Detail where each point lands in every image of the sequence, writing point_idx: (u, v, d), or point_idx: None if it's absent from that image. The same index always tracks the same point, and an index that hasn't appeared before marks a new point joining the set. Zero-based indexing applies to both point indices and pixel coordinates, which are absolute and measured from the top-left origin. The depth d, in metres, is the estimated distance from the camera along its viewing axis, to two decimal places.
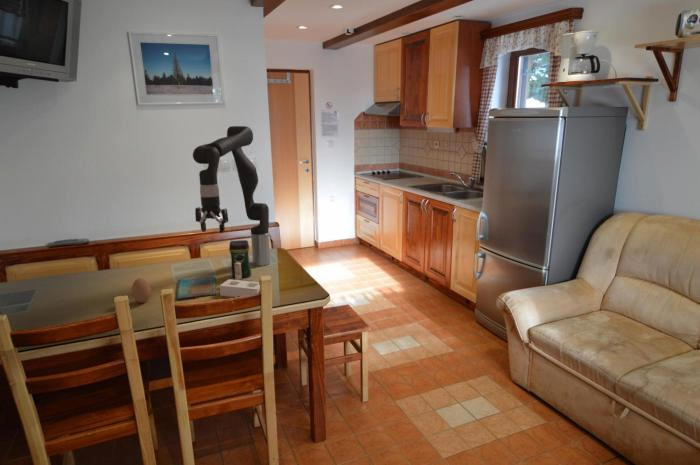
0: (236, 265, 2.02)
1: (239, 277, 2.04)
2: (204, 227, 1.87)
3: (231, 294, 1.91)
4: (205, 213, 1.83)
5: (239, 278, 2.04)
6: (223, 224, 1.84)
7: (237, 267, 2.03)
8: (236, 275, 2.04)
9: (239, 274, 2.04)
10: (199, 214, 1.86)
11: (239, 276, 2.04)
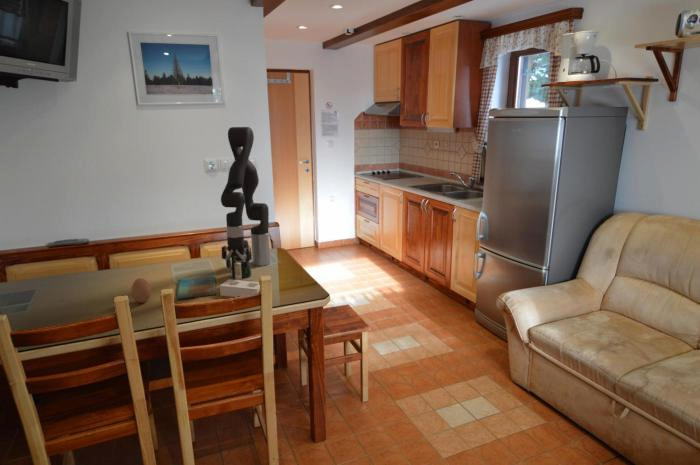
0: (236, 265, 2.02)
1: (239, 277, 2.04)
2: (229, 264, 2.04)
3: (231, 294, 1.91)
4: (231, 251, 2.01)
5: (239, 278, 2.04)
6: (247, 261, 2.02)
7: (237, 267, 2.03)
8: (236, 275, 2.04)
9: (239, 274, 2.04)
10: (225, 252, 2.04)
11: (239, 276, 2.04)
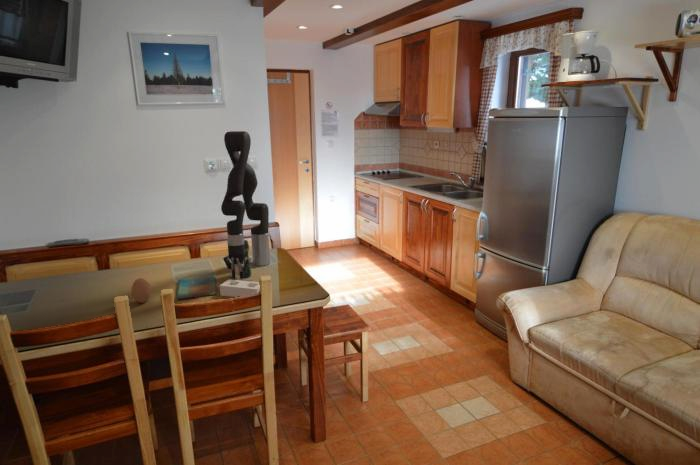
0: (236, 265, 2.02)
1: (239, 277, 2.04)
2: None
3: (231, 294, 1.91)
4: (232, 259, 2.02)
5: (239, 278, 2.04)
6: (243, 271, 2.04)
7: (237, 267, 2.03)
8: (236, 275, 2.04)
9: (239, 274, 2.04)
10: (228, 262, 2.05)
11: (239, 276, 2.04)
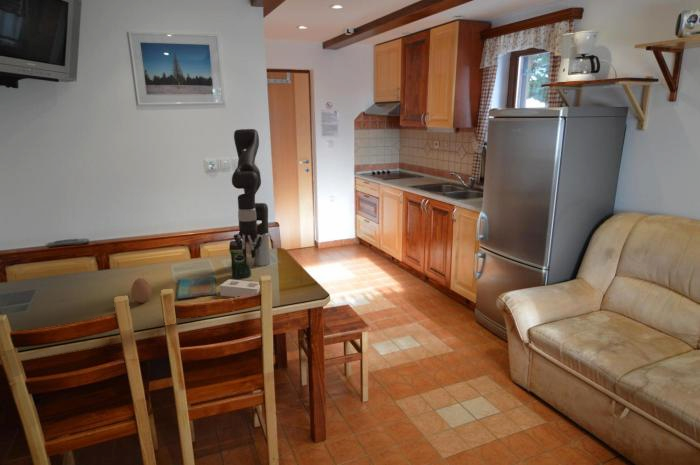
0: (247, 243, 1.85)
1: (251, 256, 1.87)
2: None
3: (231, 294, 1.91)
4: (243, 237, 1.85)
5: (251, 257, 1.87)
6: (255, 249, 1.87)
7: (249, 246, 1.86)
8: (247, 254, 1.87)
9: (251, 253, 1.87)
10: (239, 240, 1.88)
11: (251, 255, 1.87)
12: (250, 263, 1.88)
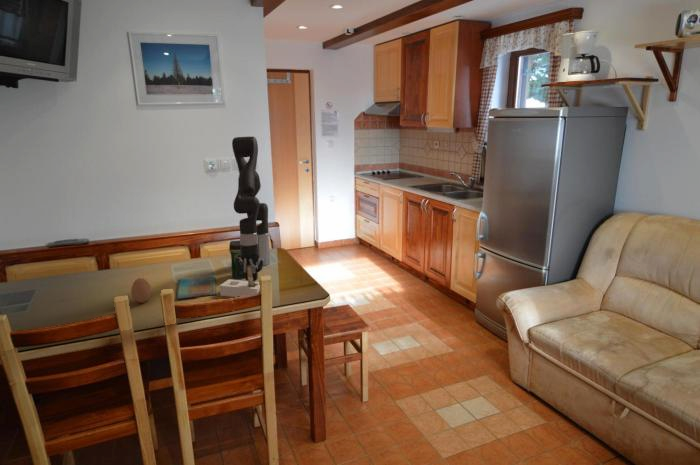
0: (249, 267, 1.88)
1: (252, 279, 1.90)
2: None
3: (231, 294, 1.91)
4: (245, 260, 1.87)
5: (252, 281, 1.90)
6: (256, 273, 1.90)
7: (250, 269, 1.88)
8: (249, 277, 1.89)
9: (252, 276, 1.89)
10: (241, 263, 1.90)
11: (252, 278, 1.90)
12: (251, 286, 1.90)
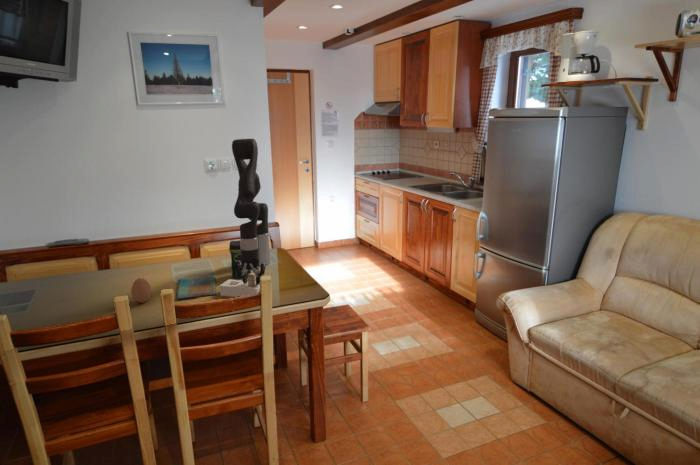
0: (250, 276, 1.89)
1: None
2: (245, 279, 1.92)
3: (231, 294, 1.91)
4: (245, 265, 1.88)
5: None
6: (259, 276, 1.90)
7: (251, 279, 1.90)
8: None
9: (253, 286, 1.91)
10: (240, 266, 1.91)
11: None
12: None
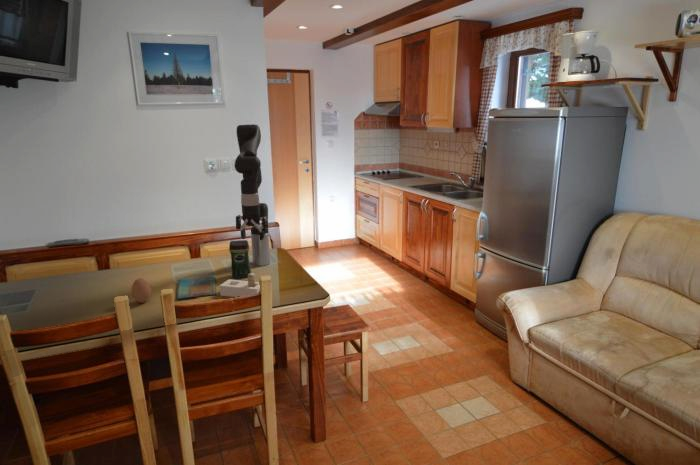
0: (250, 276, 1.89)
1: None
2: (244, 234, 1.92)
3: (231, 294, 1.91)
4: (246, 221, 1.87)
5: None
6: (263, 232, 1.89)
7: (251, 279, 1.89)
8: None
9: (253, 286, 1.91)
10: (239, 222, 1.90)
11: None
12: None
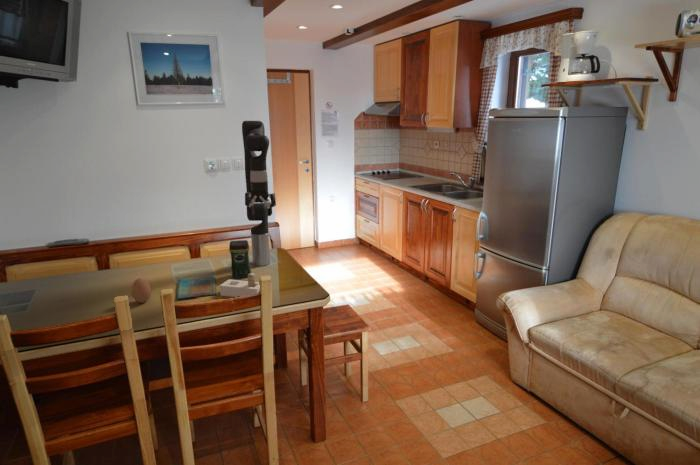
0: (250, 276, 1.89)
1: None
2: (253, 211, 2.00)
3: (231, 294, 1.91)
4: (254, 197, 1.96)
5: None
6: (271, 208, 1.98)
7: (251, 279, 1.89)
8: None
9: (253, 286, 1.91)
10: (248, 198, 1.99)
11: None
12: None
